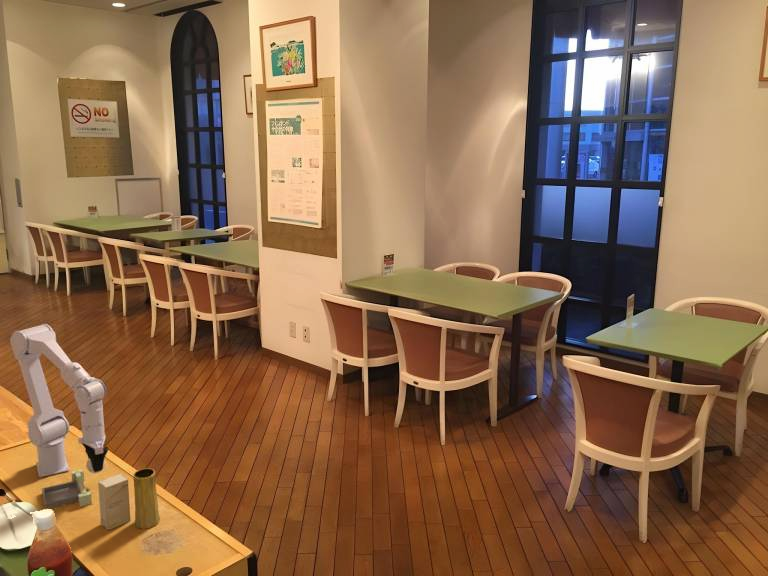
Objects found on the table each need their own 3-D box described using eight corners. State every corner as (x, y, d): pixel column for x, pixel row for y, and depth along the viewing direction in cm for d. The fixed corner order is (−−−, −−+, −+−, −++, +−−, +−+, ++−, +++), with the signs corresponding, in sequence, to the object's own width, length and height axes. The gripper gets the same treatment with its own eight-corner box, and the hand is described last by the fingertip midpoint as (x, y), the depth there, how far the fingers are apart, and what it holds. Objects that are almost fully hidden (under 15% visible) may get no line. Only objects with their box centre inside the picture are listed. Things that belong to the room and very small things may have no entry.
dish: (42, 493, 178) (41, 488, 178) (77, 485, 183) (77, 480, 183) (45, 509, 171) (45, 503, 170) (82, 500, 176) (81, 494, 175)
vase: (151, 530, 163) (148, 480, 160) (130, 527, 164) (126, 477, 161) (164, 517, 169) (161, 468, 166) (143, 514, 170) (140, 465, 167)
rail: (72, 480, 185) (71, 471, 184) (83, 478, 187) (82, 468, 186) (79, 506, 172) (79, 497, 172) (91, 503, 174) (91, 494, 173)
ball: (85, 470, 183) (84, 454, 182) (104, 466, 186) (103, 450, 185) (88, 477, 179) (87, 461, 178) (107, 473, 182) (106, 457, 181)
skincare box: (108, 531, 162) (104, 488, 160) (100, 523, 165) (96, 481, 162) (131, 520, 167) (128, 479, 164) (123, 513, 170) (120, 472, 167)
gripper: (72, 416, 183) (76, 459, 186) (82, 436, 171) (85, 481, 174) (98, 411, 187) (102, 453, 190) (109, 430, 175) (112, 474, 178)
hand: (96, 466), depth 182 cm, fingers closed on ball, 5 cm apart
